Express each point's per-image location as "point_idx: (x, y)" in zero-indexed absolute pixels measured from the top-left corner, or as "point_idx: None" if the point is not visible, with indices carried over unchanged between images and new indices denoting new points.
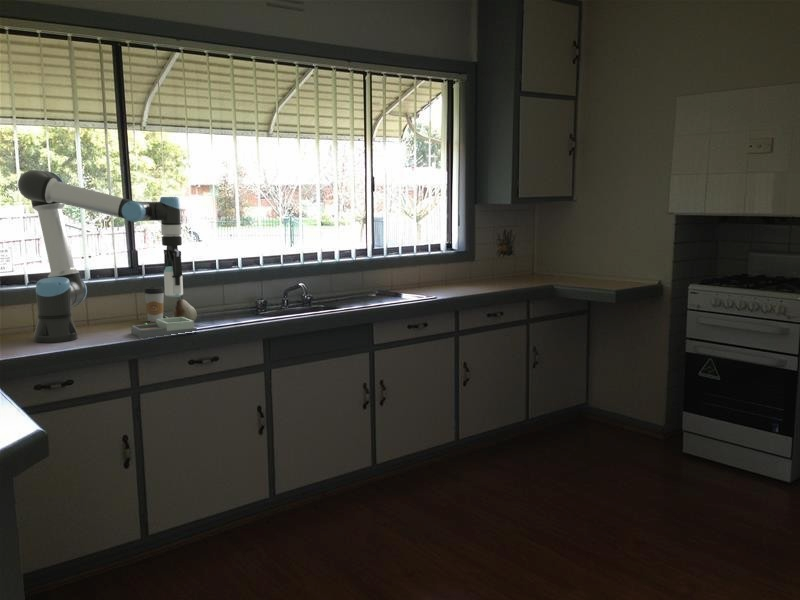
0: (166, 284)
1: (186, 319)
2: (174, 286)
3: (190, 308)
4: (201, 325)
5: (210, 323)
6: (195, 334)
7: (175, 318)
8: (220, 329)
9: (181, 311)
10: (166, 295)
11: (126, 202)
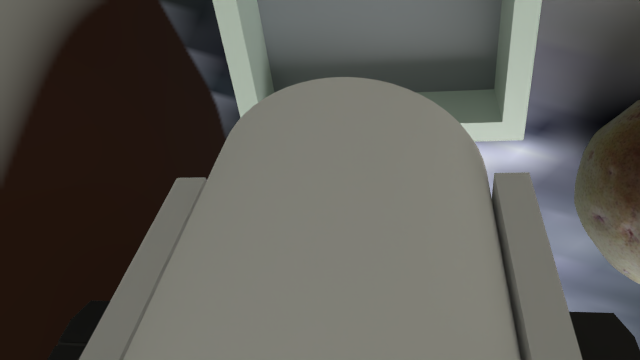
0: (236, 214)
1: None
2: (136, 272)
3: (630, 262)
4: (553, 218)
5: (588, 276)
6: (212, 88)
7: (507, 71)
8: None
9: (637, 181)
10: (302, 84)
11: None
